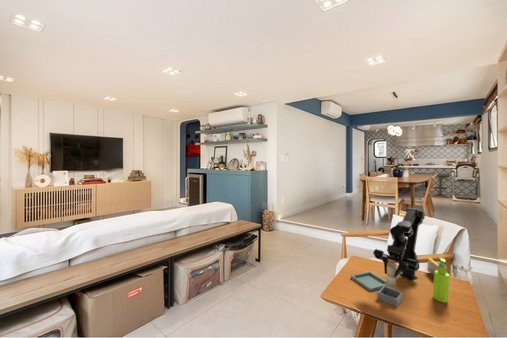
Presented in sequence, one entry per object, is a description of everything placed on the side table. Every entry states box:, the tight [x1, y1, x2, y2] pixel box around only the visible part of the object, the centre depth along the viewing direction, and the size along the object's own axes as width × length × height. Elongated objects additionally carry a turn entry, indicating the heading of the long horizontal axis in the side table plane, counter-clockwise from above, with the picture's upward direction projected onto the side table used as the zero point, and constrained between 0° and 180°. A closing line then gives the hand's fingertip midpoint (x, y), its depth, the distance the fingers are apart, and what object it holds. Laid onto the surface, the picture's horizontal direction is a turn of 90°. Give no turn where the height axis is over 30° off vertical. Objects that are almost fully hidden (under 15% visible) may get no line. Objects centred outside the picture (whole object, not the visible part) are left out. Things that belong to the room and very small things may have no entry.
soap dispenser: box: [432, 256, 451, 303], centre depth 117 cm, size 6×7×20 cm
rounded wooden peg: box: [385, 261, 398, 289], centre depth 115 cm, size 4×4×11 cm
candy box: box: [426, 257, 439, 277], centre depth 138 cm, size 16×2×8 cm, turn 168°
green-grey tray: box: [350, 270, 387, 292], centre depth 131 cm, size 14×14×2 cm
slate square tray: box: [376, 286, 404, 308], centre depth 116 cm, size 9×9×4 cm
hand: (390, 275), depth 114 cm, fingers closed on rounded wooden peg, 4 cm apart
